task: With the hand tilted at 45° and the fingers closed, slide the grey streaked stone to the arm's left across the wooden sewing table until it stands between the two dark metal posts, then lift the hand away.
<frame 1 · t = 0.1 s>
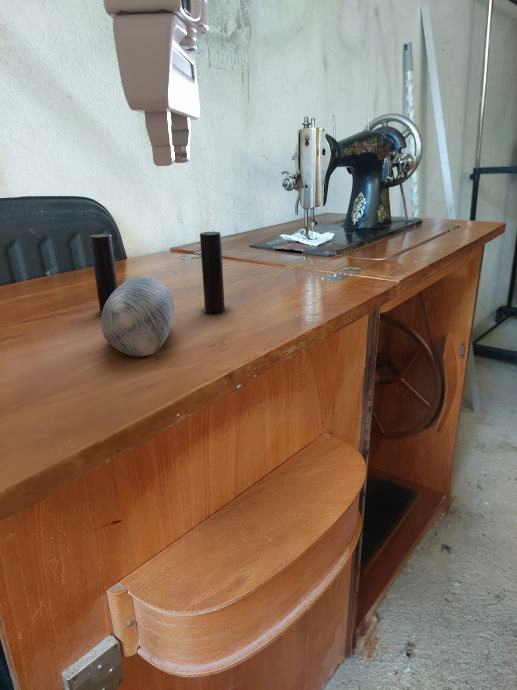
hand: (173, 164, 54), 22 cm above the table, tool pointing down, fingers open, 8 cm apart
grey streaked stone: (142, 345, 67), on the table
goal posts: (162, 313, 79), on the table
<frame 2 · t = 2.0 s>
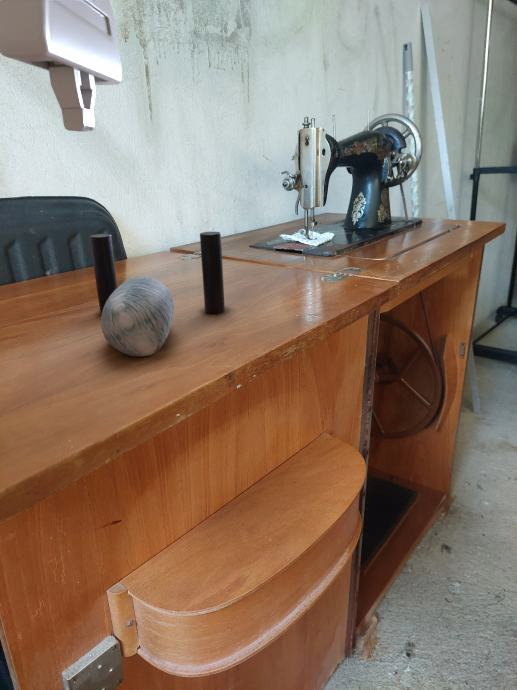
hand: (80, 131, 46), 25 cm above the table, tool pointing down, fingers closed
nothing on the table moved.
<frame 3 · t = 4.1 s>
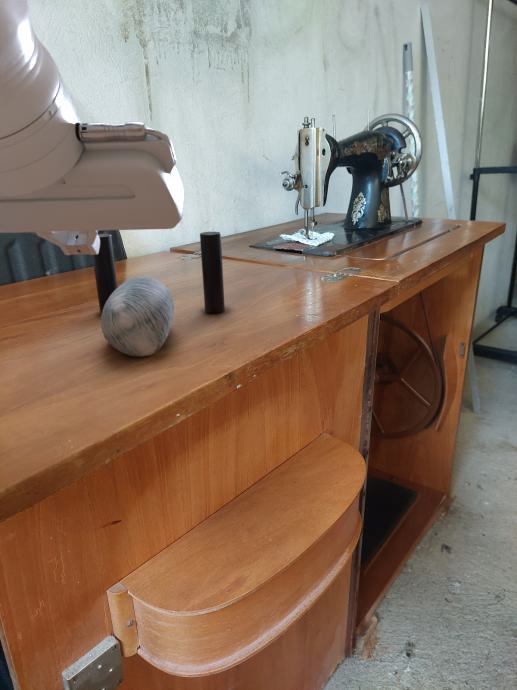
hand: (83, 248, 47), 15 cm above the table, tool tilted 45°, fingers closed
nothing on the table moved.
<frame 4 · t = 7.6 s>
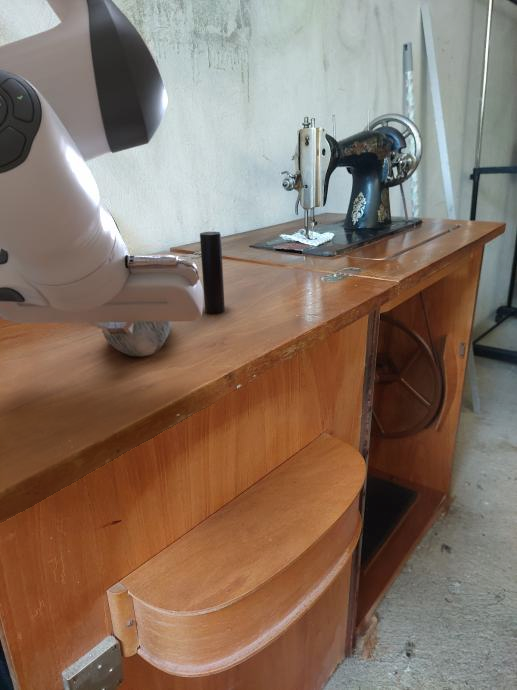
hand: (120, 328, 58), 5 cm above the table, tool tilted 45°, fingers closed, pressing on grey streaked stone
grey streaked stone: (142, 345, 67), on the table, touching gripper
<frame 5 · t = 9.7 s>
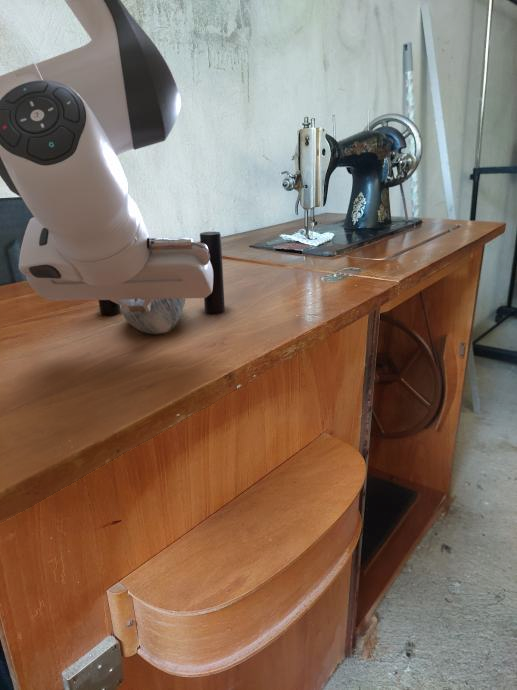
hand: (139, 306, 65), 5 cm above the table, tool tilted 45°, fingers closed, pressing on grey streaked stone
grey streaked stone: (157, 325, 74), on the table, touching gripper
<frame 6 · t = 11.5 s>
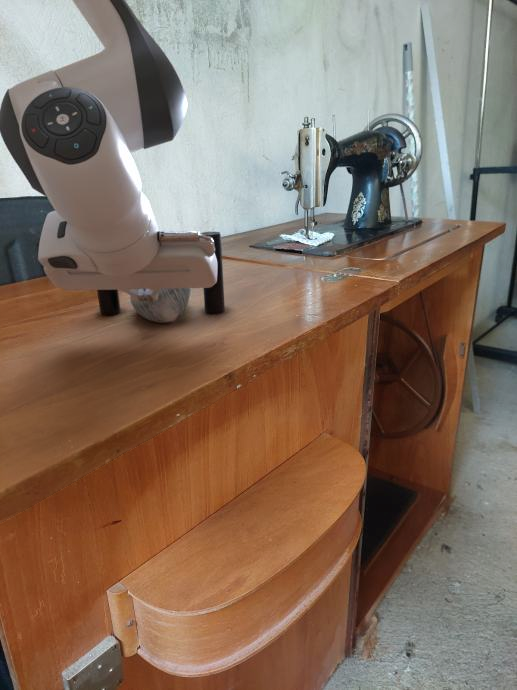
hand: (147, 296, 70), 5 cm above the table, tool tilted 45°, fingers closed
grey streaked stone: (163, 315, 78), on the table
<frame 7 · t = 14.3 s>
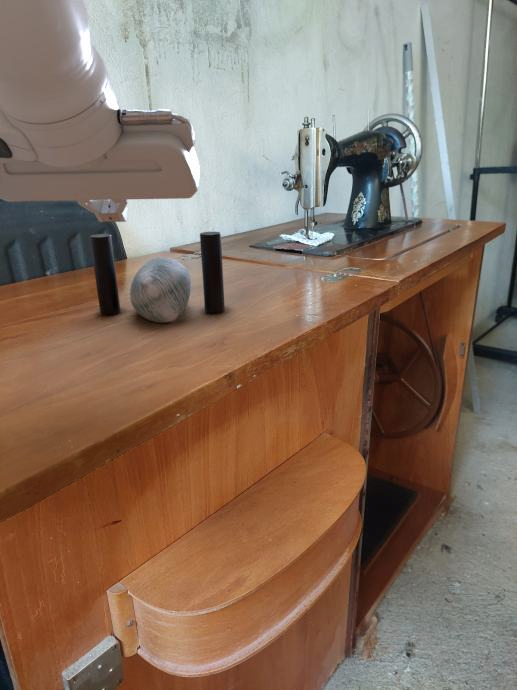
hand: (114, 217, 56), 17 cm above the table, tool tilted 45°, fingers closed
nothing on the table moved.
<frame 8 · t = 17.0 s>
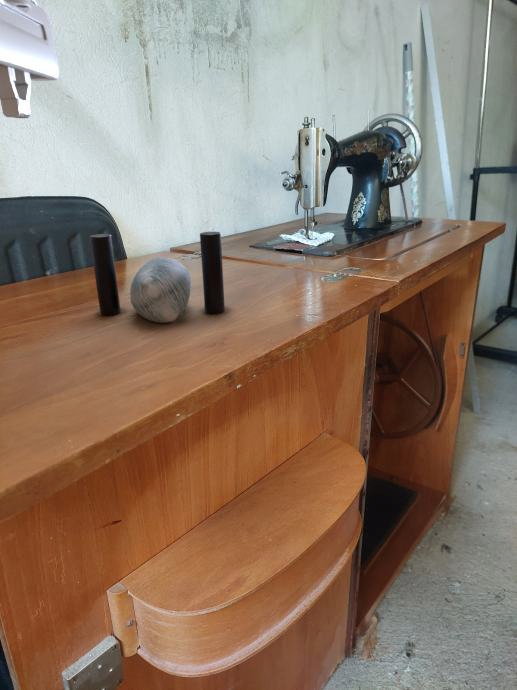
hand: (17, 117, 57), 27 cm above the table, tool pointing down, fingers closed
nothing on the table moved.
at the end: grey streaked stone inside the target area (0.3 cm from its centre), on the table; grey streaked stone tilted 0°; the gripper is holding nothing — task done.
